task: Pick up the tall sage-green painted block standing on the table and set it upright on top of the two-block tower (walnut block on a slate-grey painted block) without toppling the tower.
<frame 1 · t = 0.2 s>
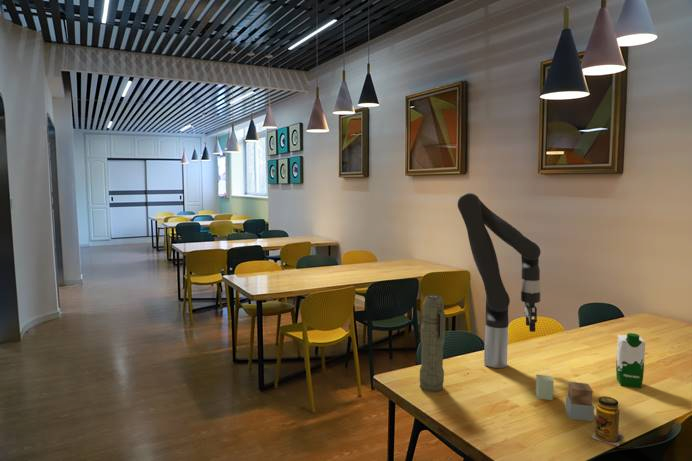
hand: (530, 328, 193), 17 cm above the table, tool pointing down, fingers open, 8 cm apart
tower base: (578, 415, 154), on the table, touching tower top
thermos: (431, 388, 174), on the table
condiment: (607, 437, 140), on the table
milk carton: (628, 383, 179), on the table
tower top: (579, 400, 153), point 5 cm above the table, touching tower base
green block: (543, 396, 167), on the table
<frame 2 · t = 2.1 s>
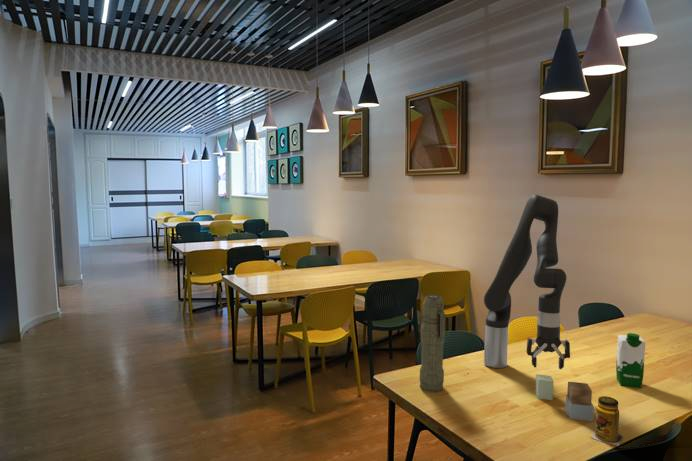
hand: (547, 367, 167), 11 cm above the table, tool pointing down, fingers open, 8 cm apart
nothing on the table moved.
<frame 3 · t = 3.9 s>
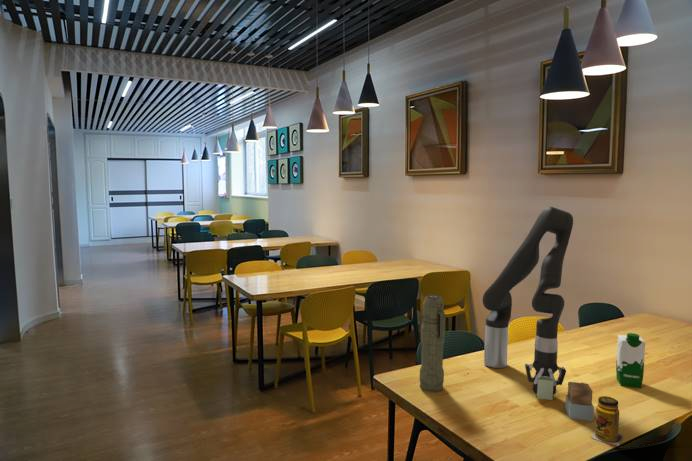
hand: (544, 393, 167), 1 cm above the table, tool pointing down, fingers closed on green block, 5 cm apart
green block: (543, 396, 167), on the table, touching gripper
everything else where it was.
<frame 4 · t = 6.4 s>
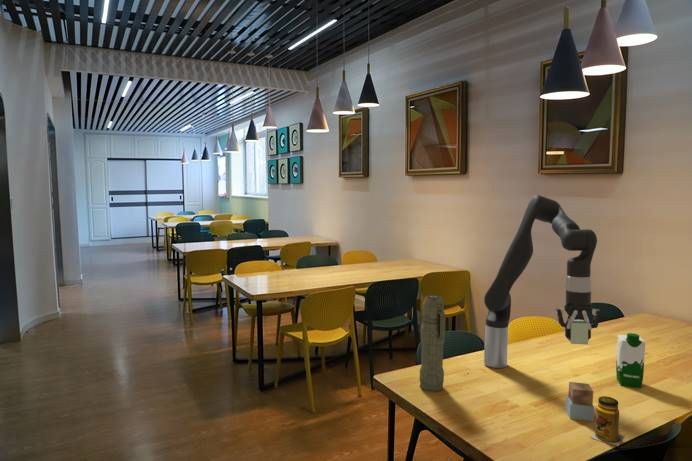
hand: (577, 339, 155), 25 cm above the table, tool pointing down, fingers closed on green block, 5 cm apart
green block: (577, 341, 155), point 24 cm above the table, touching gripper
everything else where it was.
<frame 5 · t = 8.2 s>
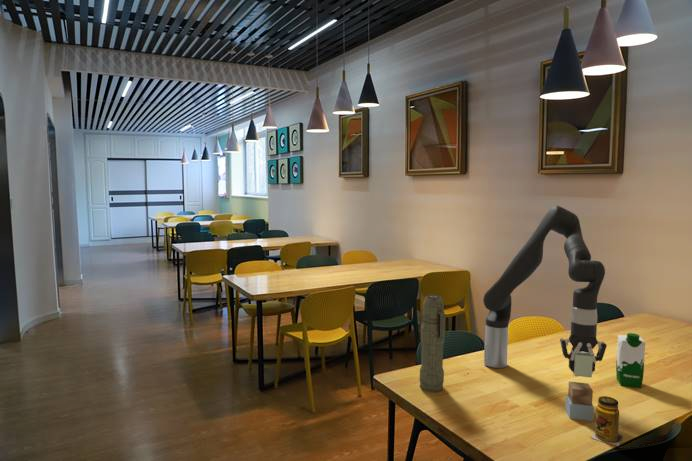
hand: (581, 371, 152), 15 cm above the table, tool pointing down, fingers closed on green block, 5 cm apart
green block: (581, 373, 153), point 14 cm above the table, touching gripper
everything else where it was.
when the fingers open (12 cm above the table, at t = 9.7 s): green block drops 1 cm, resting on tower top.
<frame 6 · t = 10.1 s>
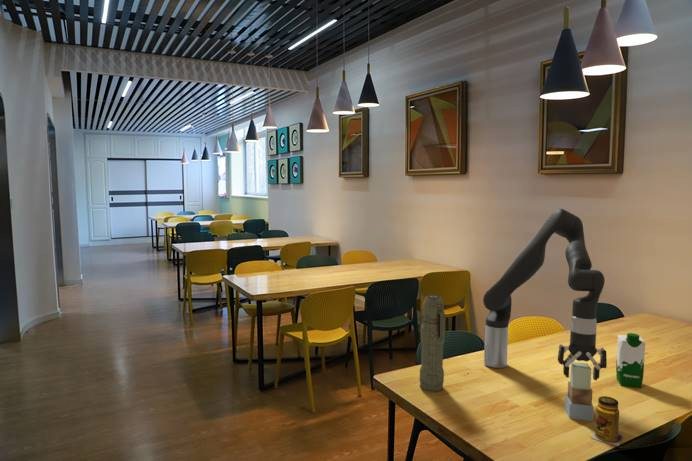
hand: (580, 378, 153), 13 cm above the table, tool pointing down, fingers open, 8 cm apart
tower top: (579, 400, 153), point 5 cm above the table, touching green block, tower base
green block: (580, 386, 153), point 10 cm above the table, touching tower top
everything else where it was.
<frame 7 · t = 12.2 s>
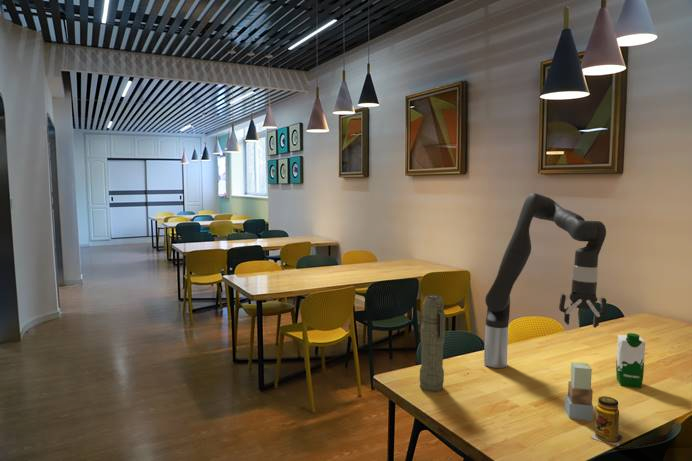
hand: (580, 325, 159), 28 cm above the table, tool pointing down, fingers open, 8 cm apart
nothing on the table moved.
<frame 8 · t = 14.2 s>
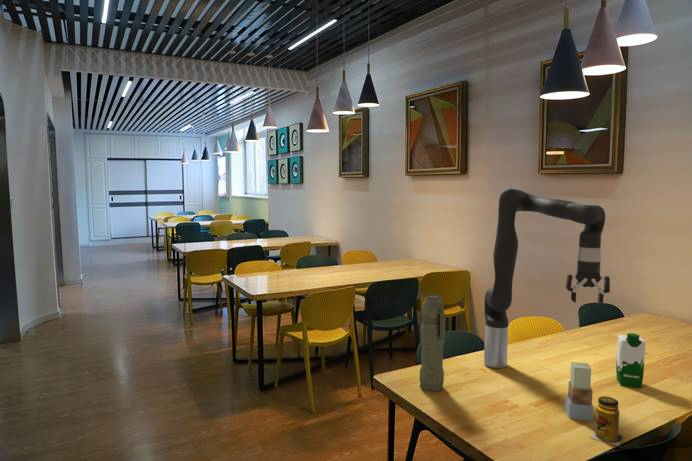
hand: (586, 302, 171), 33 cm above the table, tool pointing down, fingers open, 8 cm apart
nothing on the table moved.
at the end: green block 0.1 cm off-centre on the tower base, point 10.0 cm above the tower base's base; green block tilted 0°; tower top 0.2 cm off-centre on the tower base, point 5.0 cm above the tower base's base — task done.
